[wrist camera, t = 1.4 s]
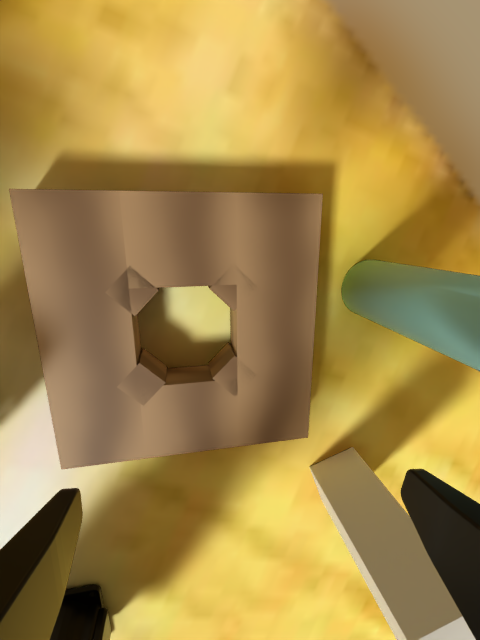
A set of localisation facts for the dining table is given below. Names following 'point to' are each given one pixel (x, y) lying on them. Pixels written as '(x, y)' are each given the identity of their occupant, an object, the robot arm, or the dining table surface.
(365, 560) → the square dowel
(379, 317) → the round dowel
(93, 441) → the socket board
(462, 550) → the robot arm
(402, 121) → the dining table surface
